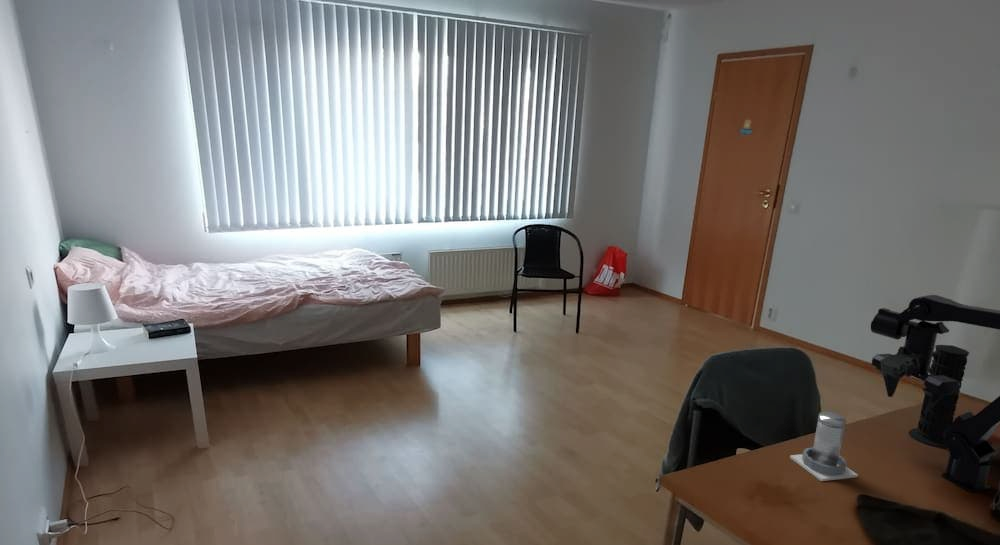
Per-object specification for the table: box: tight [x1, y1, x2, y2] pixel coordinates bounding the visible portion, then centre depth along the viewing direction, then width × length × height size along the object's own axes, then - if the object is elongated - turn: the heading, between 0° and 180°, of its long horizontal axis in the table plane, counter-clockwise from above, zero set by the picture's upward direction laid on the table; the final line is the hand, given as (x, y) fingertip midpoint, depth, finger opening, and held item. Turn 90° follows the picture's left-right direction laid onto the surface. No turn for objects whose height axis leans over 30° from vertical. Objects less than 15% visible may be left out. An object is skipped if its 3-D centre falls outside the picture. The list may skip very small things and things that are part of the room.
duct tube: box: [811, 411, 847, 466], centre depth 130 cm, size 6×6×12 cm
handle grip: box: [908, 344, 970, 450], centre depth 144 cm, size 10×26×10 cm
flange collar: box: [789, 447, 859, 482], centre depth 131 cm, size 10×10×3 cm
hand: (906, 404), depth 137 cm, fingers open, 9 cm apart
